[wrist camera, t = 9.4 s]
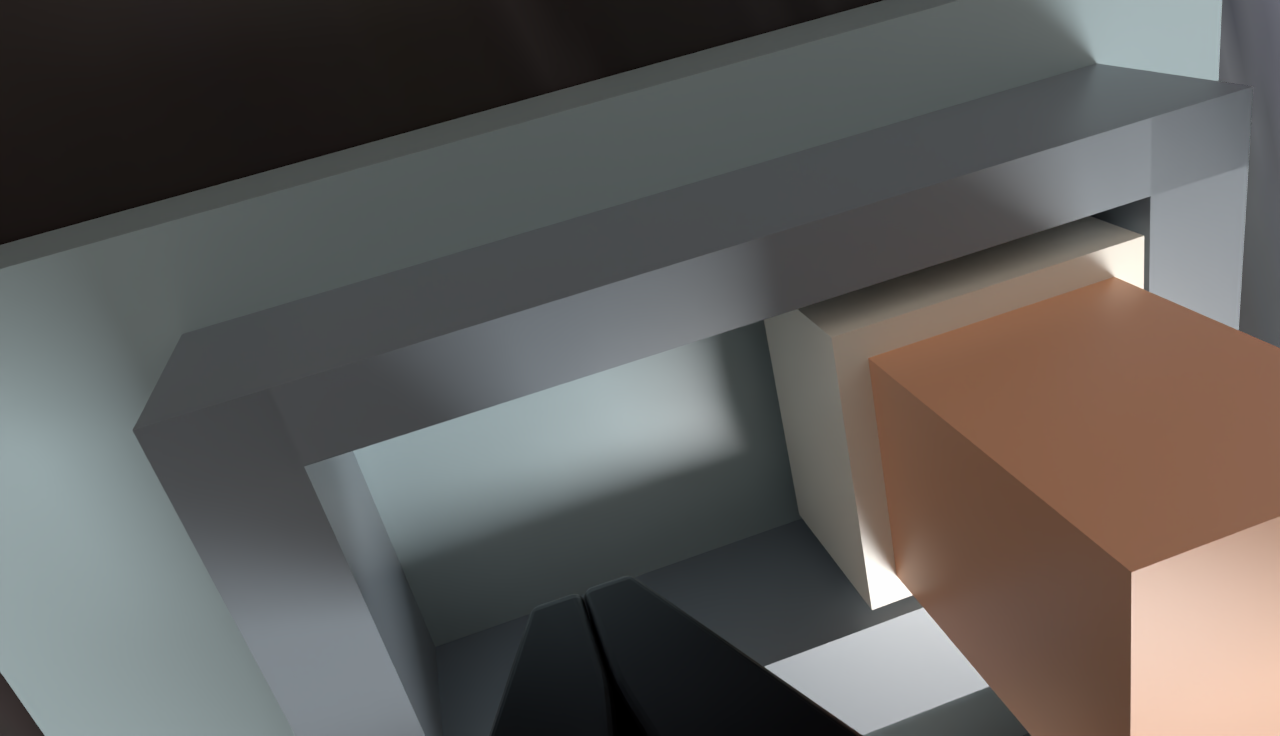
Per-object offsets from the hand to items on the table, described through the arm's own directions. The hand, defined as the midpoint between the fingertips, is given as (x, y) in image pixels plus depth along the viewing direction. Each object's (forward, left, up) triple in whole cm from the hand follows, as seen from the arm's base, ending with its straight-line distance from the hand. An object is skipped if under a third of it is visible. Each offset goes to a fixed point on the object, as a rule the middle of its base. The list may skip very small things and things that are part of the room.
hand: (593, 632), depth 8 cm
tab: (0, -4, -2) cm, 5 cm away
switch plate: (-2, -1, -4) cm, 5 cm away
